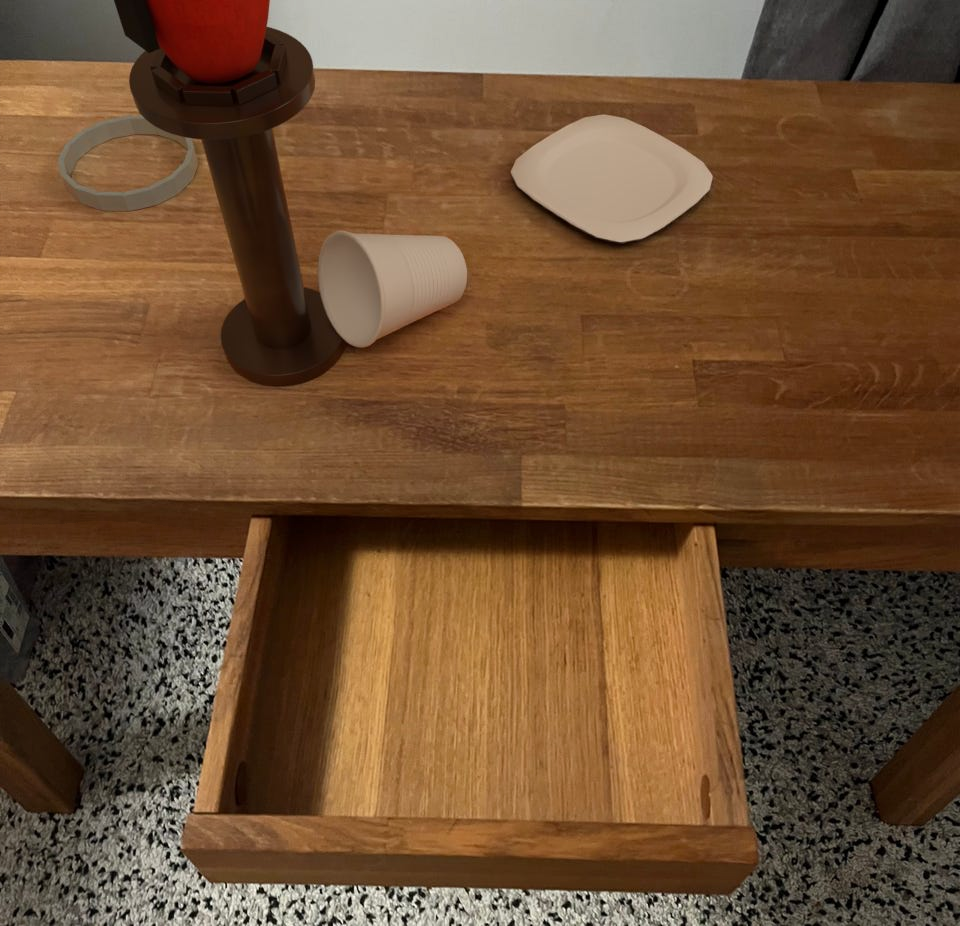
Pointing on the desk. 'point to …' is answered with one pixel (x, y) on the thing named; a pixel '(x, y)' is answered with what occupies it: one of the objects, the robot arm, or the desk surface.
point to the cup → (386, 281)
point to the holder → (251, 202)
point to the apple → (211, 36)
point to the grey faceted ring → (133, 197)
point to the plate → (612, 178)
